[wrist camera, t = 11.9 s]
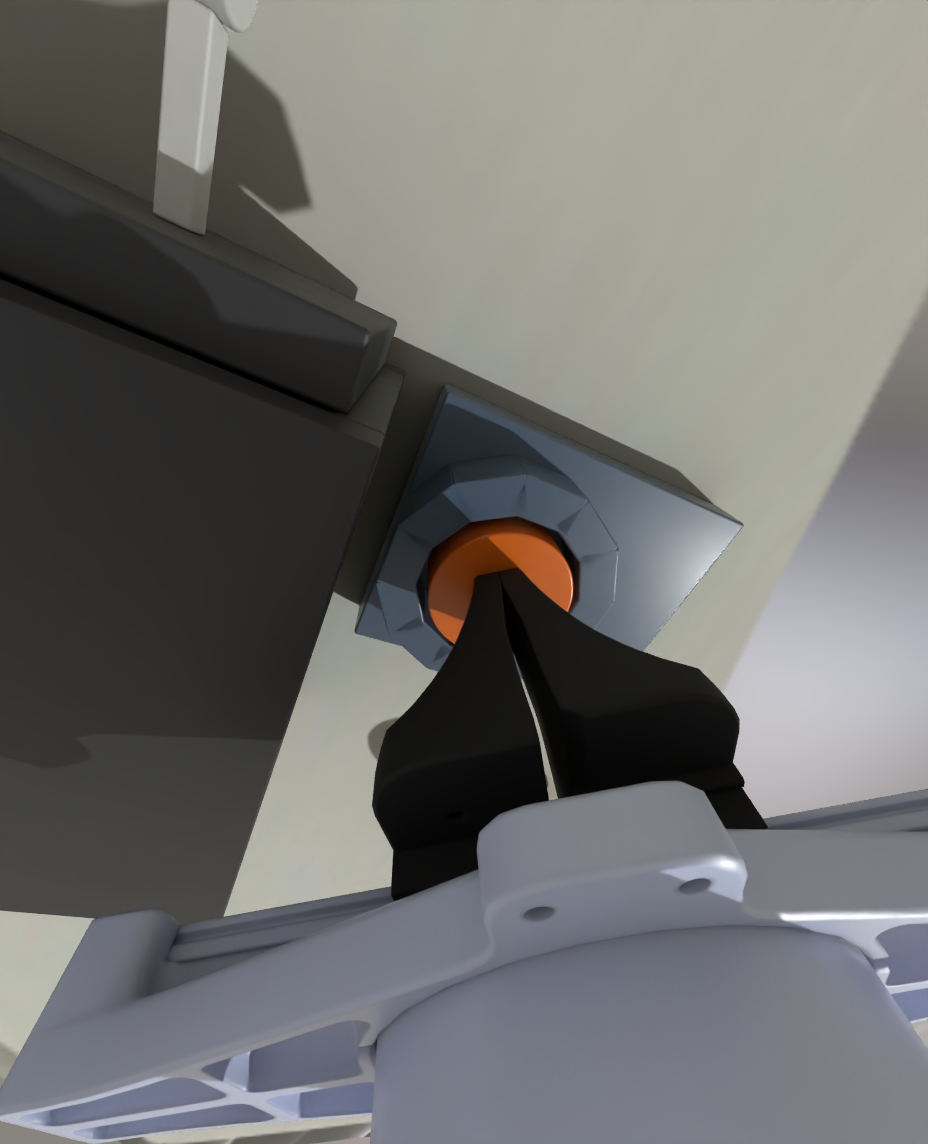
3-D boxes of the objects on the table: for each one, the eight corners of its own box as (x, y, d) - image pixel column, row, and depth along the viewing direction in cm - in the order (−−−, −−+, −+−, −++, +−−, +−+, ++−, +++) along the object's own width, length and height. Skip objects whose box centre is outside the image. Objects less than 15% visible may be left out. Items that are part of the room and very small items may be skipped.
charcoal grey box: (-127, 132, 10) (-1766, -400, 2) (405, 371, 13) (381, 448, 6) (-47, 620, 16) (-435, 875, 9) (295, 698, 20) (219, 929, 12)
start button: (408, 601, 15) (406, 634, 13) (458, 487, 13) (463, 510, 11) (521, 636, 16) (531, 669, 15) (583, 535, 14) (602, 562, 13)
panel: (355, 605, 17) (341, 667, 14) (440, 379, 13) (445, 399, 10) (590, 674, 20) (619, 736, 17) (717, 505, 16) (782, 549, 13)
